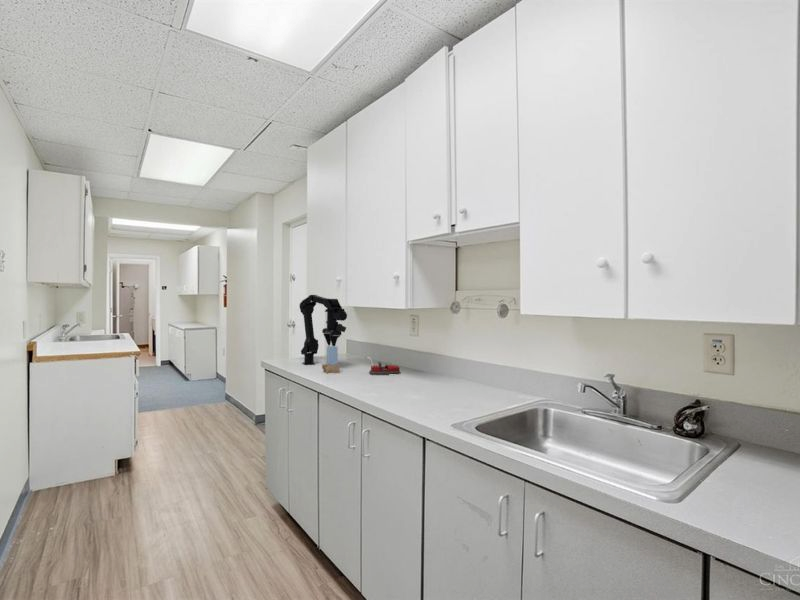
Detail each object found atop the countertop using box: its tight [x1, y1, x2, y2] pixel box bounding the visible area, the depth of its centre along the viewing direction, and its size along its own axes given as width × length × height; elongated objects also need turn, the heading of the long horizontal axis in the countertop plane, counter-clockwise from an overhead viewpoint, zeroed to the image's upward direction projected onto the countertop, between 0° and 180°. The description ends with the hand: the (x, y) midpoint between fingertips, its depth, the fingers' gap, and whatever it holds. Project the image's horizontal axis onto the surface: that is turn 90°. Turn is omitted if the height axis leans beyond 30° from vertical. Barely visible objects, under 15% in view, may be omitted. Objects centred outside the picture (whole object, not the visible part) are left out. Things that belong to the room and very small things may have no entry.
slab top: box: [321, 363, 340, 371], centre depth 236 cm, size 7×7×2 cm
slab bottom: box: [322, 368, 340, 375], centre depth 236 cm, size 7×7×2 cm
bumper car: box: [364, 356, 401, 376], centre depth 236 cm, size 10×20×10 cm, turn 107°
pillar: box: [326, 345, 339, 365], centre depth 236 cm, size 4×4×10 cm
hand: (331, 346), depth 249 cm, fingers open, 9 cm apart
